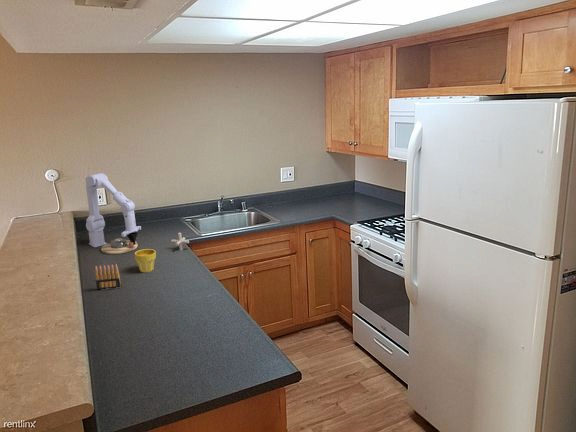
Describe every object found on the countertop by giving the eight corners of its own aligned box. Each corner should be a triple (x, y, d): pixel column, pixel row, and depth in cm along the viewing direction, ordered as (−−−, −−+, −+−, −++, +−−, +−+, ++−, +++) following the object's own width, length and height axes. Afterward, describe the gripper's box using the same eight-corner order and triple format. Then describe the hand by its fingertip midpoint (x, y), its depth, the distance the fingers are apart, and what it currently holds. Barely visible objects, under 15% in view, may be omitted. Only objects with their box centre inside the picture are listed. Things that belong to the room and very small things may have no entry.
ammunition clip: (121, 286, 214) (118, 262, 211) (120, 288, 212) (117, 264, 209) (97, 288, 212) (94, 265, 209) (96, 290, 210) (93, 266, 207)
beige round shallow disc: (101, 245, 271) (100, 238, 269) (136, 240, 277) (136, 233, 276) (101, 256, 253) (100, 248, 251) (138, 251, 259) (138, 243, 258)
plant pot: (161, 267, 235) (159, 250, 232) (148, 275, 226) (145, 256, 223) (146, 265, 239) (144, 247, 237) (132, 272, 230) (129, 254, 228)
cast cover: (110, 244, 267) (109, 238, 266) (126, 242, 270) (126, 236, 269) (111, 249, 259) (110, 242, 258) (127, 247, 262) (126, 240, 261)
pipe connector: (185, 253, 255) (184, 236, 253) (169, 252, 257) (167, 235, 254) (192, 247, 265) (191, 230, 262) (176, 246, 267) (175, 230, 264)
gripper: (127, 226, 251) (130, 249, 254) (144, 219, 264) (147, 241, 267) (117, 225, 253) (120, 248, 257) (134, 218, 266) (137, 240, 270)
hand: (133, 244), depth 262 cm, fingers closed
